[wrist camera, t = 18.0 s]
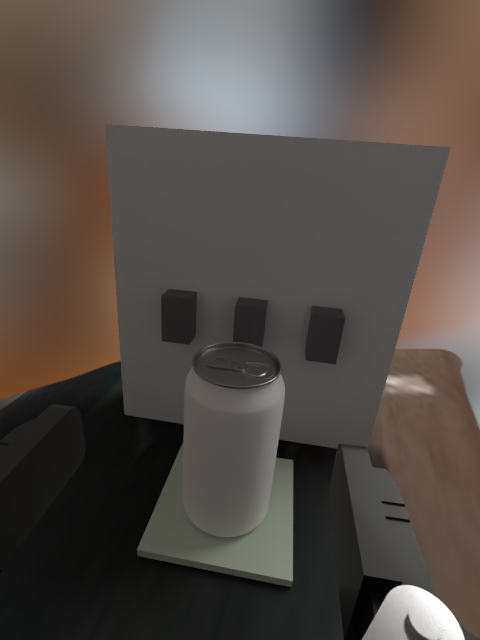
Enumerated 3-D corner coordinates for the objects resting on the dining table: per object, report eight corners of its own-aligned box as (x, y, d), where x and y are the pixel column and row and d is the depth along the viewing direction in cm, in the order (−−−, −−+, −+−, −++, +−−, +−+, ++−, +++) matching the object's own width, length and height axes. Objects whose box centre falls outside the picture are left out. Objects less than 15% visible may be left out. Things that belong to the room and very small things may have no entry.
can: (258, 554, 23) (280, 402, 18) (167, 525, 24) (165, 377, 19) (275, 478, 28) (295, 348, 24) (201, 458, 30) (206, 332, 25)
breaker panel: (370, 469, 31) (464, 144, 21) (115, 427, 33) (90, 119, 23) (357, 419, 37) (424, 152, 27) (144, 387, 40) (134, 132, 30)
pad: (291, 587, 21) (292, 581, 21) (137, 555, 23) (136, 549, 22) (292, 465, 31) (293, 460, 30) (182, 447, 32) (183, 441, 31)
